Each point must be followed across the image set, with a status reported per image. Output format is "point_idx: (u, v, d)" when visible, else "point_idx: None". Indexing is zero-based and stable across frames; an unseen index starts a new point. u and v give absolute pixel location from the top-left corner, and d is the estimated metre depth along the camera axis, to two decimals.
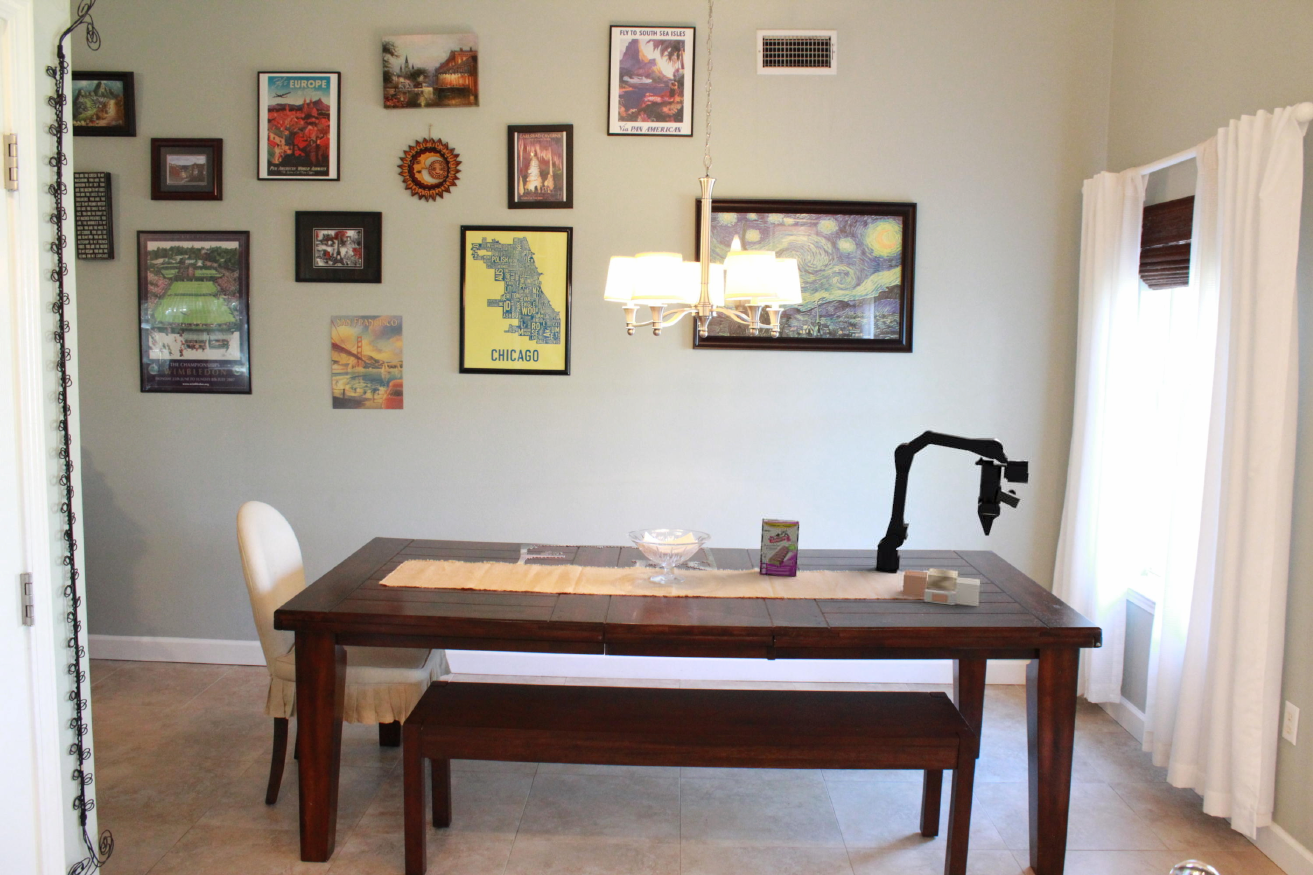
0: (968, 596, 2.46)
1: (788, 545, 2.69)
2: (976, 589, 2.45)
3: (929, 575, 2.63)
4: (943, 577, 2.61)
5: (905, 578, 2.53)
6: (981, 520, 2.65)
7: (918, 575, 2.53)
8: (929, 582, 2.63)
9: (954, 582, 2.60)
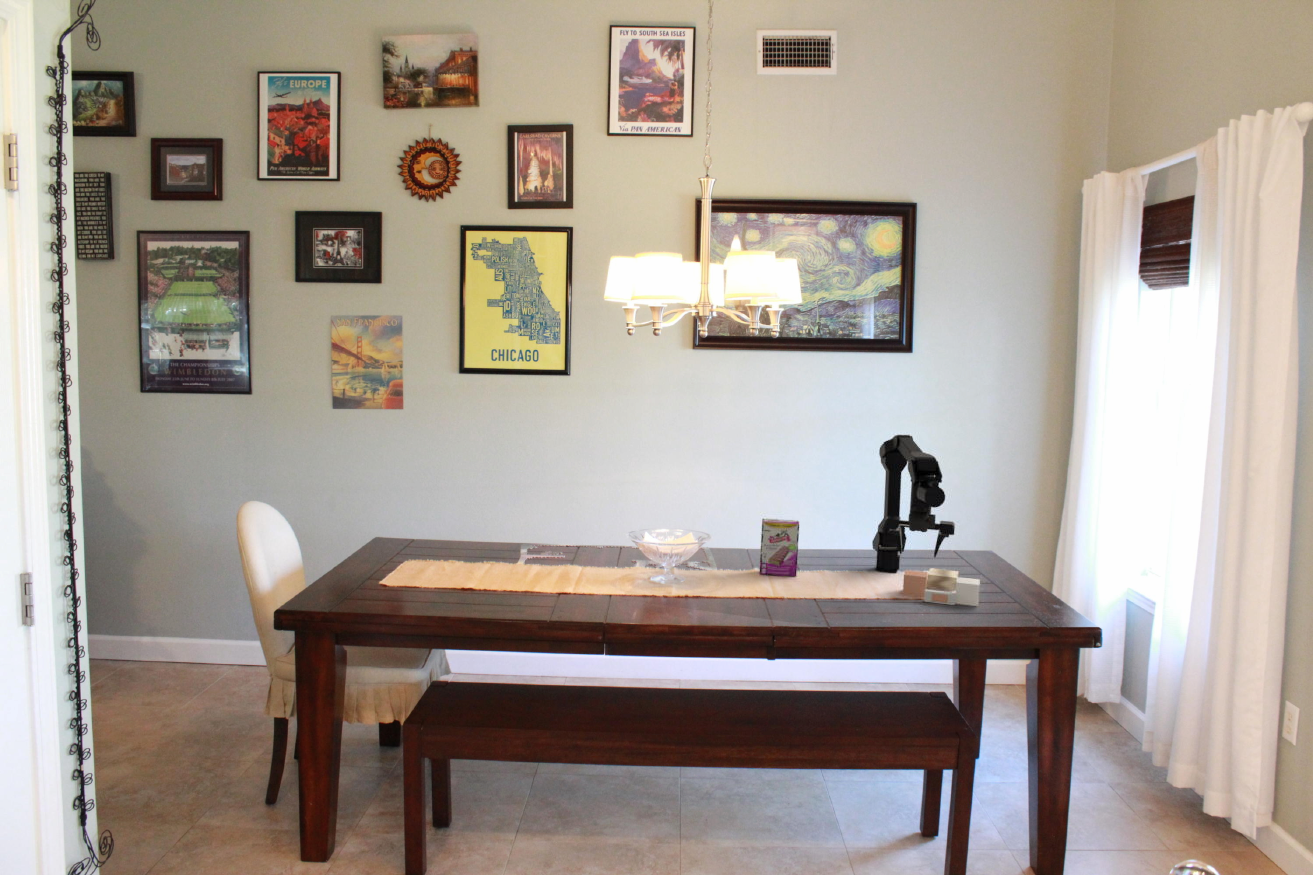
0: (968, 596, 2.46)
1: (788, 545, 2.69)
2: (976, 589, 2.45)
3: (929, 575, 2.63)
4: (942, 577, 2.61)
5: (905, 578, 2.53)
6: None
7: (918, 575, 2.53)
8: (929, 582, 2.63)
9: (953, 582, 2.60)
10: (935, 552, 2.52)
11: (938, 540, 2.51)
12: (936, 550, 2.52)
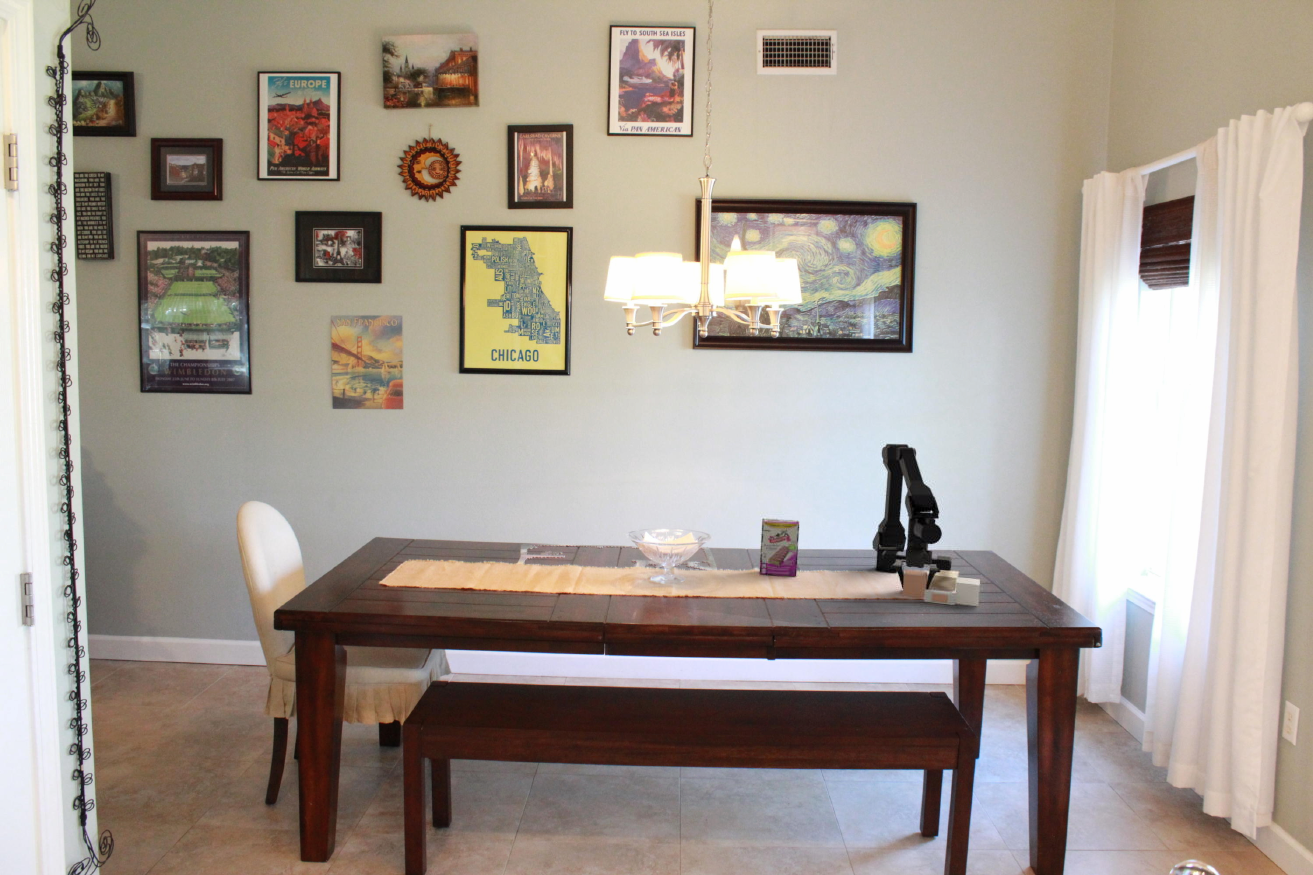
0: (968, 596, 2.46)
1: (788, 545, 2.69)
2: (976, 589, 2.45)
3: None
4: (942, 577, 2.61)
5: (905, 578, 2.53)
6: None
7: (918, 575, 2.53)
8: None
9: (953, 582, 2.60)
10: (927, 586, 2.54)
11: (930, 575, 2.52)
12: (928, 585, 2.53)
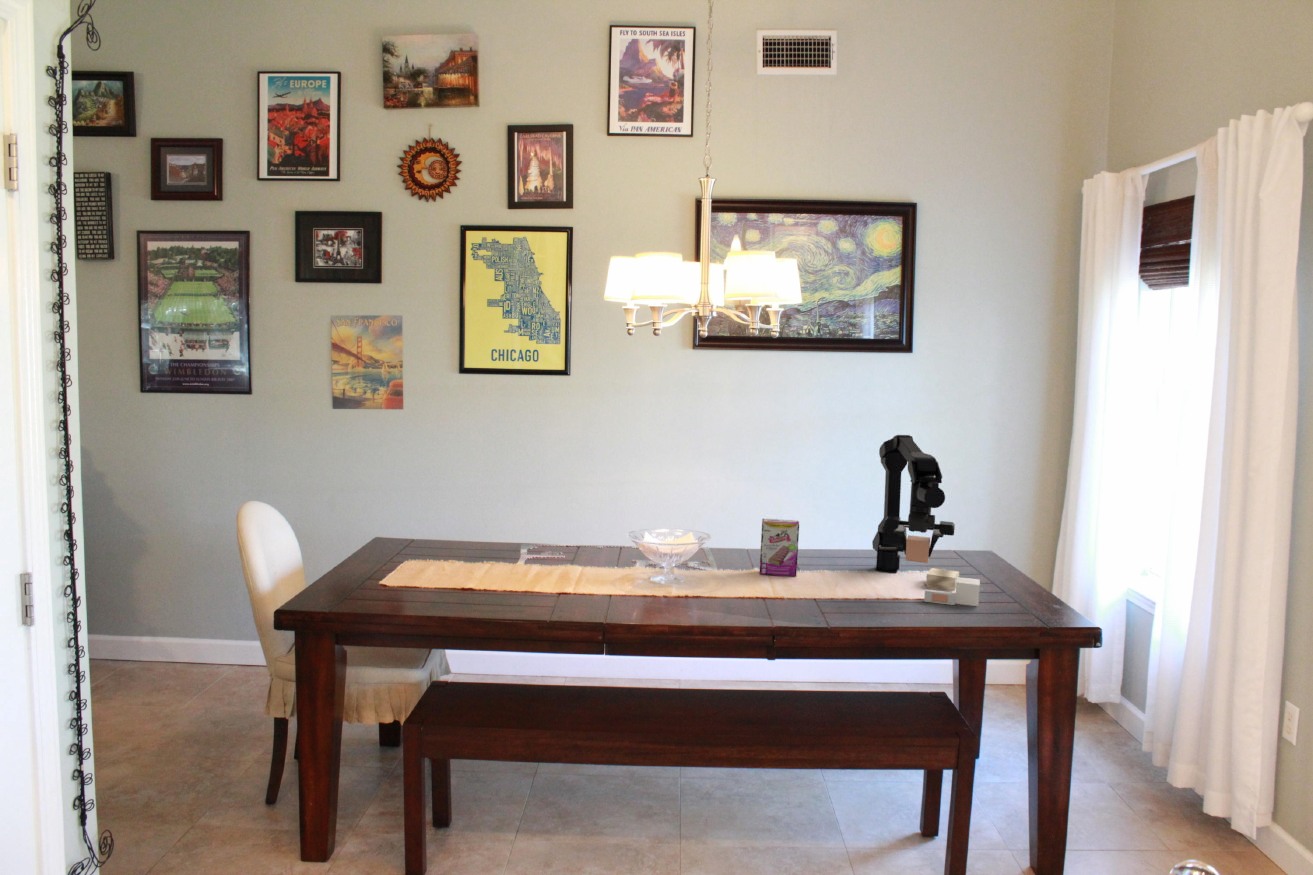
0: (968, 596, 2.46)
1: (788, 545, 2.69)
2: (976, 589, 2.45)
3: (928, 575, 2.63)
4: (941, 577, 2.61)
5: (908, 543, 2.52)
6: None
7: (921, 540, 2.52)
8: (928, 582, 2.63)
9: (952, 582, 2.60)
10: (929, 552, 2.53)
11: (932, 540, 2.51)
12: (930, 550, 2.52)
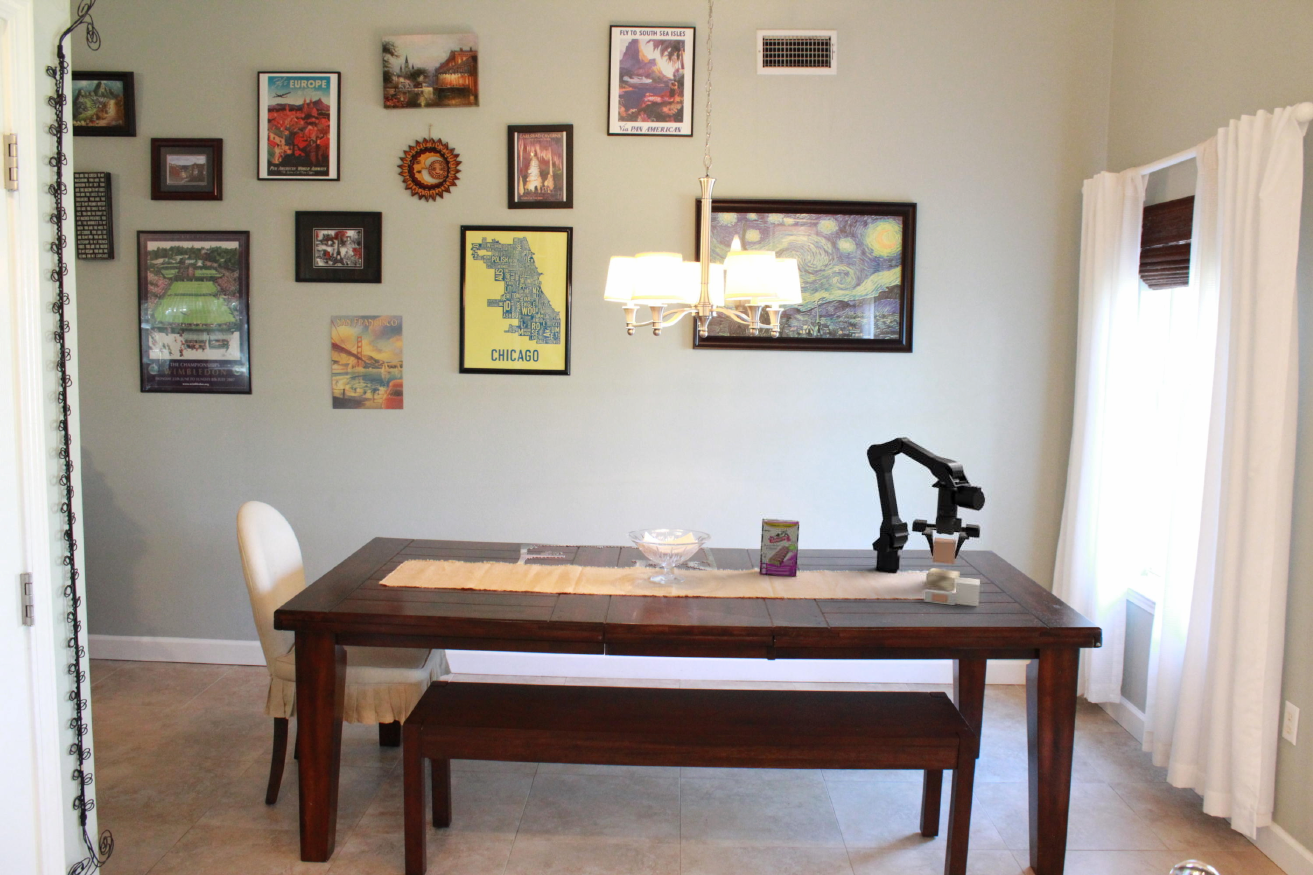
0: (968, 596, 2.46)
1: (788, 545, 2.69)
2: (976, 589, 2.45)
3: (927, 574, 2.63)
4: (941, 577, 2.61)
5: (935, 545, 2.62)
6: None
7: (947, 542, 2.62)
8: (927, 581, 2.63)
9: (952, 582, 2.60)
10: (956, 553, 2.63)
11: (959, 542, 2.61)
12: (957, 552, 2.62)
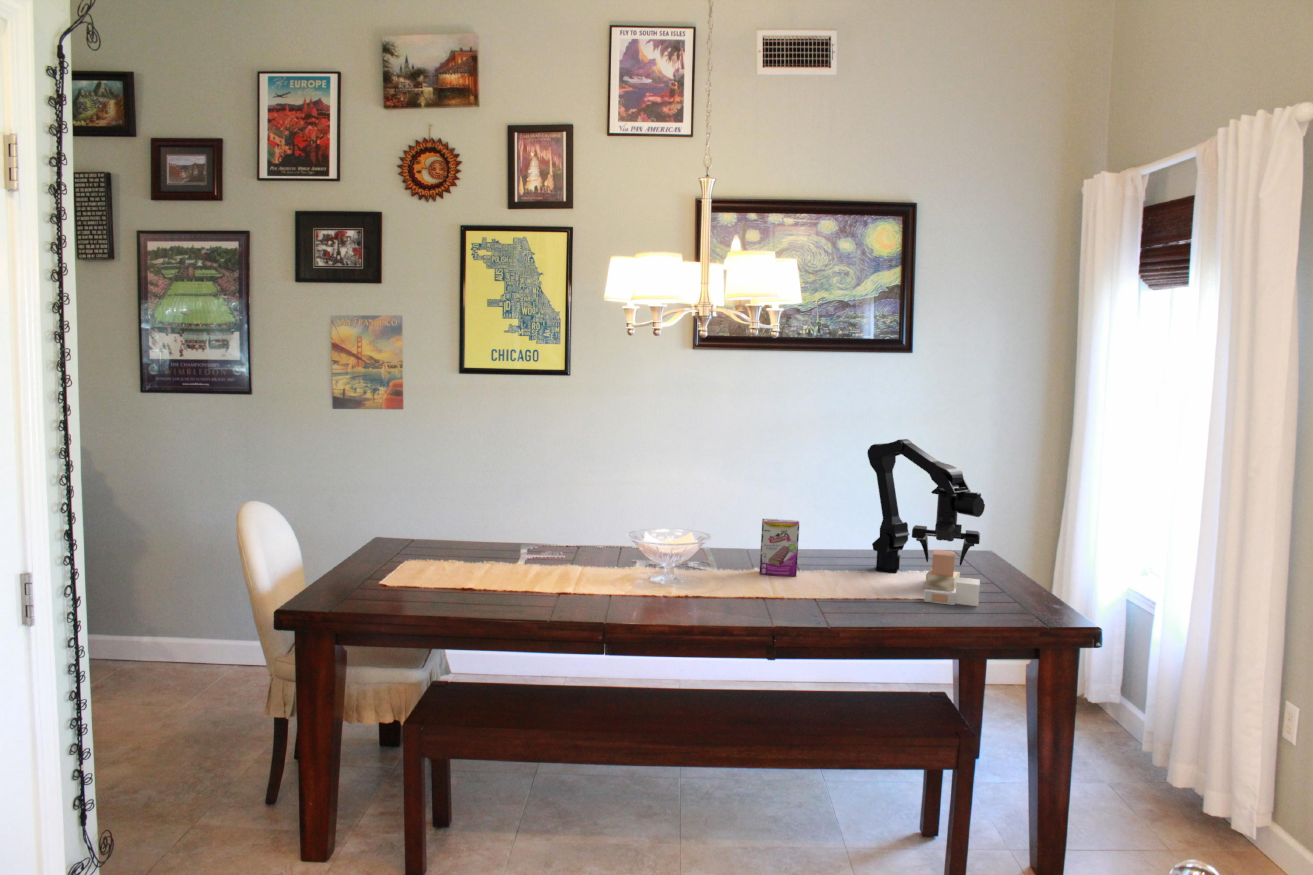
0: (968, 596, 2.46)
1: (788, 545, 2.69)
2: (976, 589, 2.45)
3: (927, 574, 2.63)
4: (941, 577, 2.62)
5: (934, 557, 2.62)
6: None
7: (946, 554, 2.62)
8: (927, 581, 2.64)
9: (952, 582, 2.60)
10: (961, 560, 2.62)
11: (964, 549, 2.61)
12: (962, 558, 2.62)
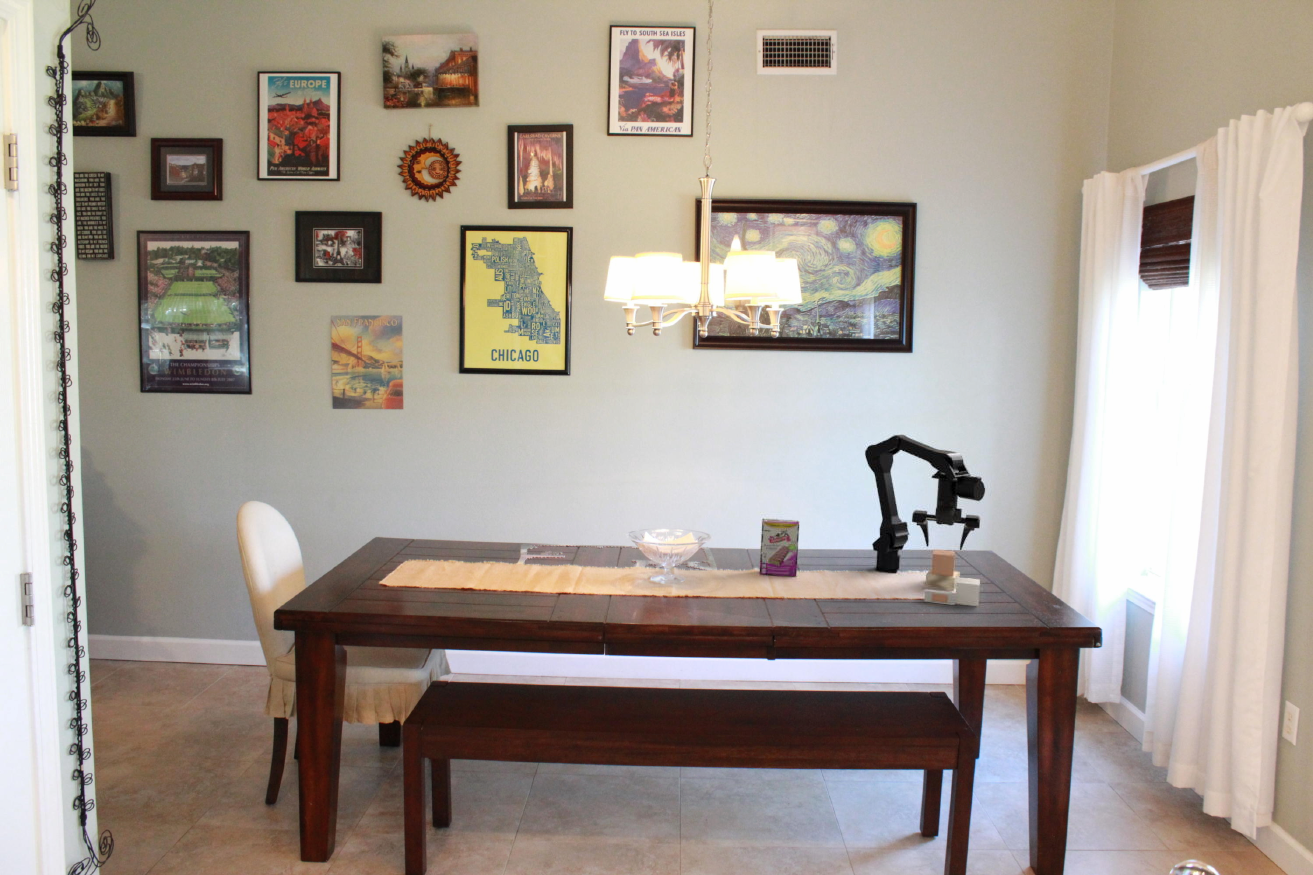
0: (968, 596, 2.46)
1: (788, 545, 2.69)
2: (976, 589, 2.45)
3: (927, 574, 2.63)
4: (941, 577, 2.62)
5: (934, 557, 2.63)
6: None
7: (946, 554, 2.62)
8: (927, 581, 2.64)
9: (952, 582, 2.60)
10: (961, 545, 2.62)
11: (964, 533, 2.61)
12: (962, 543, 2.62)
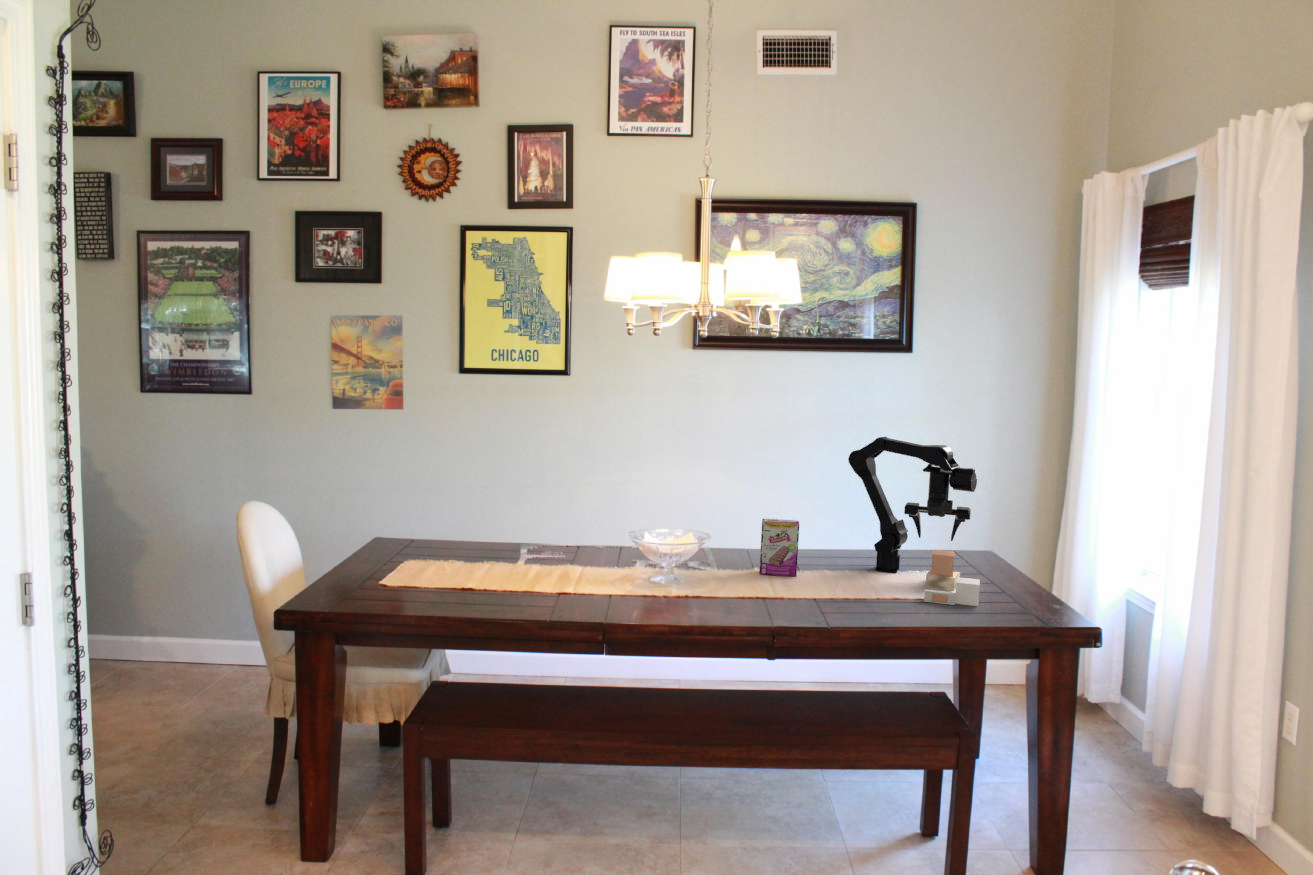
0: (968, 596, 2.46)
1: (788, 545, 2.69)
2: (976, 589, 2.45)
3: (927, 575, 2.63)
4: (941, 577, 2.61)
5: (933, 557, 2.62)
6: None
7: (946, 554, 2.62)
8: (927, 582, 2.64)
9: (952, 582, 2.60)
10: (952, 536, 2.69)
11: (955, 524, 2.68)
12: (953, 534, 2.69)
